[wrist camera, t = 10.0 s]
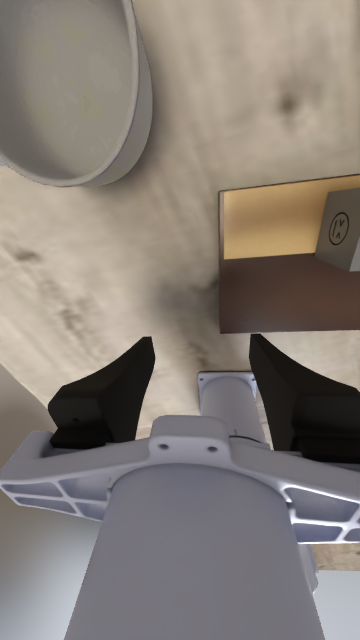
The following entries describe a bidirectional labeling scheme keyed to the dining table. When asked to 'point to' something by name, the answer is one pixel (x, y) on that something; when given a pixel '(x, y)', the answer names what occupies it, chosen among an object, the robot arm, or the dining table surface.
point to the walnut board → (282, 261)
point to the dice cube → (341, 230)
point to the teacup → (72, 90)
